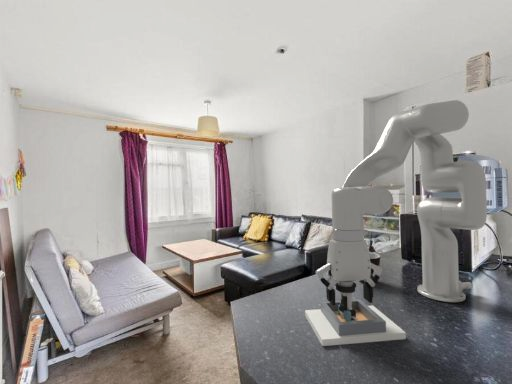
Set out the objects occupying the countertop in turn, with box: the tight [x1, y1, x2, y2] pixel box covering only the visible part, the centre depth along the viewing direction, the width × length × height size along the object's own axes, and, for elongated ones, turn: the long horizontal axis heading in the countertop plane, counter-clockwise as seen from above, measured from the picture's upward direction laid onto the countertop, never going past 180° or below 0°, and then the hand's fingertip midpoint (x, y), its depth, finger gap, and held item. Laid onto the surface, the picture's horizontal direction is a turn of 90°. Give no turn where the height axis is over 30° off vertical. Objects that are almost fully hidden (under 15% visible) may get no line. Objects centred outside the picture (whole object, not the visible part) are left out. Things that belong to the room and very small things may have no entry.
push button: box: [334, 281, 358, 322], centre depth 65 cm, size 7×5×10 cm
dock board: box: [304, 298, 407, 347], centre depth 64 cm, size 20×14×4 cm
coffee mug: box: [359, 252, 381, 286], centre depth 94 cm, size 12×9×10 cm
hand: (349, 301), depth 64 cm, fingers open, 9 cm apart
